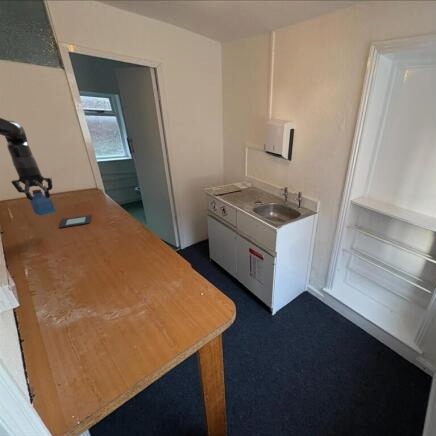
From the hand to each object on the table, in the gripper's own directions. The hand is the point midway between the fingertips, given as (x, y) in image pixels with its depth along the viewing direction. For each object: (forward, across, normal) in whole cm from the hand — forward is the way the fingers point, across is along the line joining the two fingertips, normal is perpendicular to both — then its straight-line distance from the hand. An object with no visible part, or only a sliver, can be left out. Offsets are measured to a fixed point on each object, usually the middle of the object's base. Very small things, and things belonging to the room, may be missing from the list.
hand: (39, 198), depth 118 cm
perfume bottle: (+8, 0, 0) cm, 8 cm away
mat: (+20, -8, -12) cm, 25 cm away
